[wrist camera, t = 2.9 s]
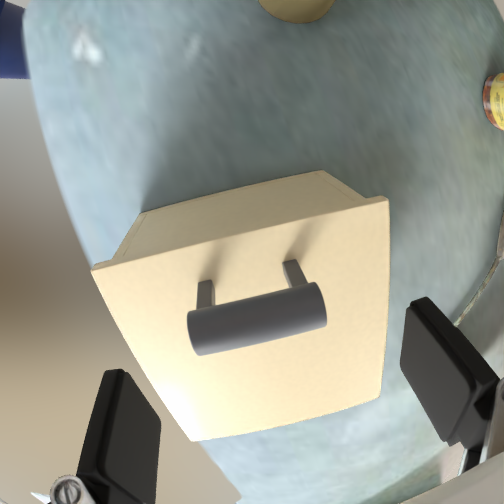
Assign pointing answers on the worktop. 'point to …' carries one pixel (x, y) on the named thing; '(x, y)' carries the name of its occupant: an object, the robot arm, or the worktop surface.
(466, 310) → the soupspoon
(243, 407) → the lid
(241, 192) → the cream open box
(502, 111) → the sauce bottle
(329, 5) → the cork
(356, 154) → the worktop surface
